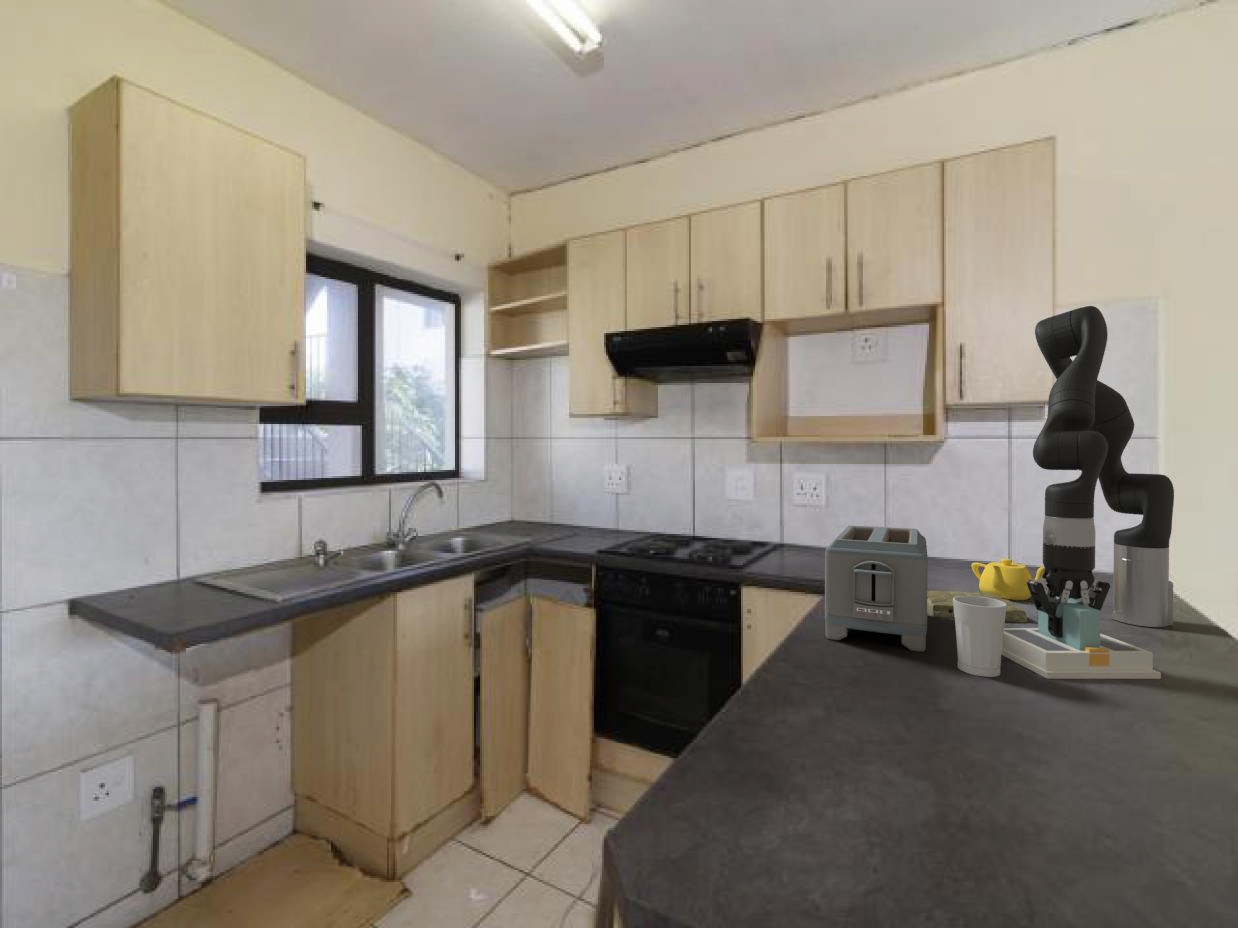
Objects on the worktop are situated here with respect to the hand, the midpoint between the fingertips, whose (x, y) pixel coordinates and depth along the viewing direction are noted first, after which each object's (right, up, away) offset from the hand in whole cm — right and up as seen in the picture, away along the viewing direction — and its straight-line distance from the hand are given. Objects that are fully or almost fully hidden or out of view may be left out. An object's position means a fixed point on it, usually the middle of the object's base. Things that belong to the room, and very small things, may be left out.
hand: (1067, 635), depth 105 cm
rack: (0, -5, 0) cm, 5 cm away
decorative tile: (+2, -5, +35) cm, 36 cm away
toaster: (-25, -5, +20) cm, 33 cm away
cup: (-19, -5, -4) cm, 20 cm away
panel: (0, -2, 0) cm, 2 cm away
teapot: (+22, -4, +48) cm, 53 cm away
